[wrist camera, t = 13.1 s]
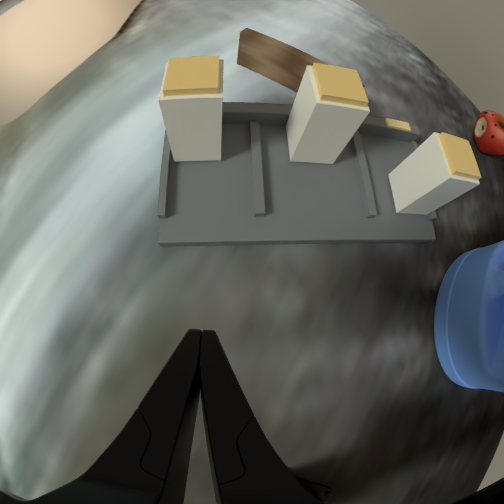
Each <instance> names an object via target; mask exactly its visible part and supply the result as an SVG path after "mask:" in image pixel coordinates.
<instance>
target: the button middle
mask: <svg viewBox="0 0 504 504" xmlns="http://www.w3.org/2000/svg"><path fill="white" fill-rule="evenodd" d="M368 103H369V102H368V99H367V96H366V93H365V91H364V88H363V85H362V83H361V80H360V78H359V75H358V73H357V70H352V69H348V68H343V67H337V66H332V65H326V64H320V63H314V64H313V66H310V65H307V67H306V70H305V73H304V75H303V78H302V81H301V84H300V87H299V90H298V92H297V95H296V98H295V101H294V104H293V107H292V110H291V112H290V115H289V118H288V121H287V124H286V131H287V138H288V146H289V154H290V161H292V162H310V163H325V164H333V163H334V162H335V160H336V159H337V157H338V156H339V155H340V153H341V152H342V150H343V149H344V148H345V146H346V145H347V143H348V142H349V141H350V139H351V138H352V136H353V135H354V133H355V132H356V131H357V129H358V128H359V126H360V125H361V124H362V122H363V121H364V119H365V118H366V117H367V115H368V114H369V112H370V110H369V107H368Z"/></svg>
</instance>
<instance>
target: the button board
mask: <svg viewBox="0 0 504 504" xmlns="http://www.w3.org/2000/svg"><path fill="white" fill-rule="evenodd" d="M292 107H293V105H284V104H269V103H244V102H222V135H221V160H209V161H179V162H174V159H173V155H172V151H171V147H170V144H169V140H168V136H167V132H166V130H165V138H164V146H163V155H162V164H161V175H160V186H159V199H158V214H157V216H158V217H159V240H158V243H159V244H160V245H161V247H163V246H207V245H259V244H323V243H424V242H431V241H434V240H436V237H435V231H434V226H433V220H435V219H437V216H436V211H435V210H434V211H432V212H430V213H429V214H427V215H424V214H408V213H396V208H395V203H394V198H393V193H392V189H391V184H390V180H389V176H388V174H389V173H391V172H392V171H393V170H394V169H395V168H396V167H397V166H398V165H399V164H401V163H402V162H403V161H404V160H405V159H406V158H407V157H408V156H409V155H410V154H412V153H413V152H414V151H415V150H416V149H417V148H418V145H417V142H415V140H416V139H417V138H418V137H419V136H420V133H419V130H418V128H417V126H414V125H410V124H409V123H406V122H402V121H398V120H394V119H389V118H386V119H384V118H379V117H374V116H369V115H367V117H366V118H365V119H364V121H363V122H362V124H361V125H360V126H359V128H358V129H357V131H356V132H355V133H354V135H353V136H352V138H351V139H350V141H349V142H348V143H347V145H346V146H345V148H344V149H343V150H342V152H341V153H340V155H339V156H338V157H337V159H336V160H335V162H334V163H333V164H325V163H310V162H292V161H290V154H289V146H288V138H287V131H286V124H287V121H288V118H289V115H290V112H291V110H292Z"/></svg>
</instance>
